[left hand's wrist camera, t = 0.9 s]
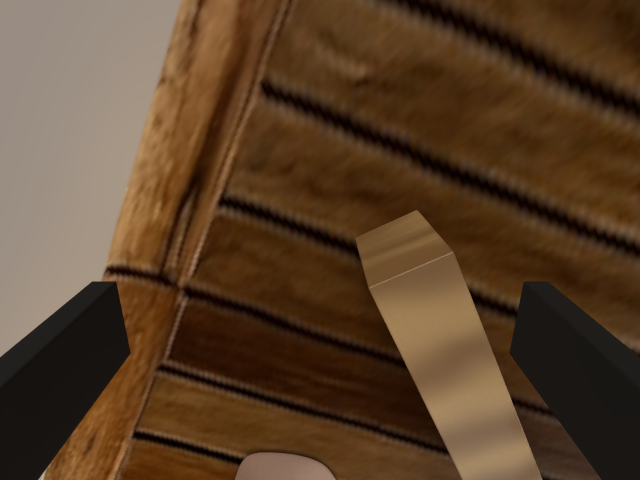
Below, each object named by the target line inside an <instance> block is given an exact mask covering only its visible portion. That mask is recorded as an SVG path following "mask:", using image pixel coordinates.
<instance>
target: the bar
mask: <svg viewBox="0 0 640 480" xmlns="http://www.w3.org/2000/svg"><path fill="white" fill-rule="evenodd" d="M355 240H356V244H357V248H358V251H359V255H360V259H361V262H362V266H363V270H364V273H365V277H366V281H367V284H368V288H369V290H370V292H371V294H372V296H373V299H374V301H375V303H376V305H377V307H378V309H379V311H380V313H381V315H382V317H383V319H384V321H385V323H386V325H387V327H388V329H389V331H390V333H391V335H392V337H393V339H394V341H395V343H396V345H397V347H398V349H399V352H400V354H401V356H402V358H403V360H404V362H405V364H406V366H407V368H408V370H409V372H410V374H411V376H412V378H413V380H414V382H415V384H416V386H417V388H418V390H419V392H420V394H421V396H422V398H423V400H424V403H425V405H426V407H427V409H428V411H429V413H430V415H431V417H432V419H433V421H434V423H435V425H436V427H437V429H438V431H439V433H440V435H441V437H442V439H443V441H444V443H445V445H446V447H447V449H448V451H449V453H450V456H451V458H452V460H453V462H454V464H455V466H456V468H457V470H458V472H459V474H460V476H461V478H462V480H542V477H541V475H540V472H539V470H538V467H537V465H536V462H535V459H534V457H533V454H532V452H531V449H530V447H529V444H528V442H527V439H526V436H525V434H524V431H523V429H522V426H521V424H520V421H519V418H518V416H517V413H516V411H515V408H514V406H513V403H512V400H511V398H510V395H509V393H508V390H507V388H506V385H505V382H504V380H503V377H502V375H501V372H500V370H499V367H498V364H497V362H496V359H495V357H494V354H493V352H492V349H491V347H490V344H489V341H488V339H487V336H486V334H485V331H484V329H483V326H482V323H481V321H480V318H479V316H478V313H477V311H476V308H475V305H474V303H473V300H472V298H471V295H470V293H469V290H468V287H467V285H466V282H465V280H464V277H463V275H462V272H461V269H460V267H459V264H458V262H457V259H456V257H455V254H454V252H453V251H452V250H451V248H450V247H449V246H448V245H447V244H446V243H445V242H444V240H443V239H442V238H441V237H440V236H439V235H438V233H437V232H436V231H435V230H434V229H433V228H432V227H431V225H430V224H429V223H428V222H427V221H426V220H425V219H424V217H423V216H422V215H421V214H420V213H419V212H418V211H417V210H416V211H414V212H411V213H409V214H407V215H405V216H403V217H400V218H398V219H396V220H394V221H391V222H389V223H387V224H385V225H382V226H380V227H378V228H376V229H374V230H371V231H369V232H367V233H365V234H362V235H360V236H358V237H356V238H355Z"/></svg>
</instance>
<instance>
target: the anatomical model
mask: <svg viewBox="0 0 640 480" xmlns="http://www.w3.org/2000/svg"><path fill="white" fill-rule="evenodd" d="M235 480H336V479H335V478H334V476H333V474H332V473H331V472H330V470H329V469H328V468H327V467H326V466H324V465H323V464H322V463H320V462H318V461H316V460H314V459H311V458H308V457H304V456H300V455H294V454H287V453H274V452H260V453H254V454H251V455H249V456H247V457H246V458H245V459H244V460H243V461H242V463H241V465H240V467H239V469H238V472H237V474H236V477H235Z"/></svg>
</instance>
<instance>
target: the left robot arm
mask: <svg viewBox="0 0 640 480" xmlns="http://www.w3.org/2000/svg"><path fill="white" fill-rule="evenodd" d="M129 355H130V348H129V343H128V338H127V333H126V328H125V324H124V319H123V314H122V309H121V304H120V299H119V294H118V289H117V284H116V282H91V283H90V284H89V285H88V286H86V287H85V288H84V289H83V290H81V291H80V292H79V293H78V294H77V295H75V296H74V297H73V298H72V299H71V300H69V301H68V302H67V303H66V304H64V305H63V306H62V307H61V308H60V309H58V310H57V311H56V312H55V313H54V314H52V315H51V316H50V317H49V318H47V319H46V320H45V321H44V322H43V323H41V324H40V325H39V326H38V327H37V328H35V329H34V330H33V331H32V332H31V333H29V334H28V335H27V336H26V337H24V338H23V339H22V340H21V341H20V342H18V343H17V344H16V345H15V346H13V347H12V348H11V349H10V350H9V351H7V352H6V353H5V354H4V355H3V356H1V357H0V480H38V479H39V478H40V476H41V475H42V474H43V472H44V471H45V470H46V468H47V467H48V465H49V464H50V463H51V461H52V460H53V459H54V457H55V456H56V454H57V453H58V452H59V450H60V449H61V448H62V446H63V445H64V444H65V442H66V441H67V439H68V438H69V437H70V435H71V434H72V433H73V431H74V430H75V428H76V427H77V426H78V424H79V423H80V422H81V420H82V419H83V418H84V416H85V415H86V413H87V412H88V411H89V409H90V408H91V407H92V405H93V404H94V402H95V401H96V400H97V398H98V397H99V396H100V394H101V393H102V392H103V390H104V389H105V387H106V386H107V385H108V383H109V382H110V381H111V379H112V378H113V377H114V375H115V374H116V372H117V371H118V370H119V368H120V367H121V366H122V364H123V363H124V361H125V360H126V359H127V357H128V356H129ZM510 355H511V356H512V357H513V359H514V360H515V361H516V363H517V364H518V366H519V367H520V368H521V370H522V371H523V372H524V374H525V375H526V377H527V378H528V379H529V381H530V382H531V383H532V385H533V386H534V387H535V389H536V390H537V392H538V393H539V394H540V396H541V397H542V398H543V400H544V401H545V402H546V404H547V405H548V407H549V408H550V409H551V411H552V412H553V413H554V415H555V416H556V418H557V419H558V420H559V422H560V423H561V424H562V426H563V427H564V428H565V430H566V431H567V433H568V434H569V435H570V437H571V438H572V439H573V441H574V442H575V444H576V445H577V446H578V448H579V449H580V450H581V452H582V453H583V454H584V456H585V457H586V459H587V460H588V461H589V463H590V464H591V465H592V467H593V468H594V470H595V471H596V472H597V474H598V475H599V476H600V478H601V479H602V480H640V357H639V356H637V355H636V354H635V353H634V352H633V351H631V350H630V349H629V348H628V347H627V346H625V345H624V344H623V343H622V342H620V341H619V340H618V339H617V338H616V337H614V336H613V335H612V334H611V333H610V332H608V331H607V330H606V329H605V328H603V327H602V326H601V325H600V324H599V323H597V322H596V321H595V320H594V319H593V318H591V317H590V316H589V315H588V314H586V313H585V312H584V311H583V310H582V309H580V308H579V307H578V306H577V305H576V304H574V303H573V302H572V301H571V300H569V299H568V298H567V297H566V296H565V295H563V294H562V293H561V292H560V291H559V290H557V289H556V288H555V287H554V286H552V285H551V284H550V283H549V282H524V284H523V289H522V294H521V299H520V304H519V309H518V314H517V319H516V324H515V328H514V333H513V338H512V343H511V348H510Z"/></svg>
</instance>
